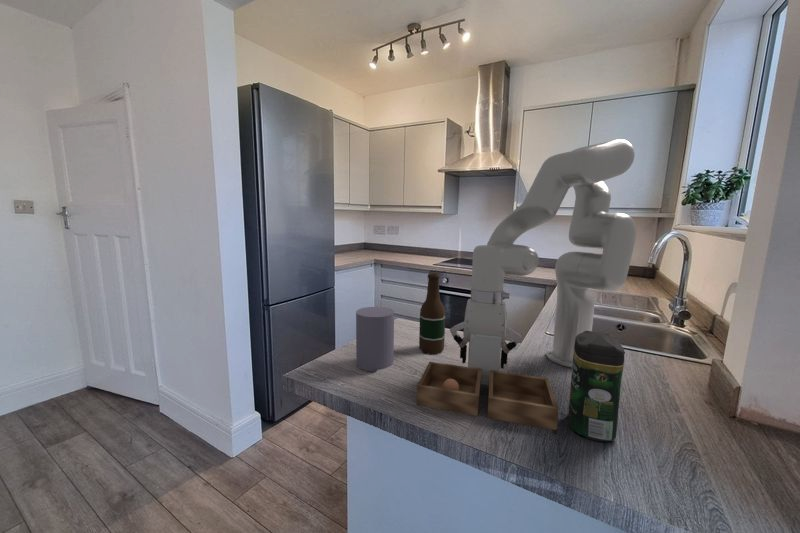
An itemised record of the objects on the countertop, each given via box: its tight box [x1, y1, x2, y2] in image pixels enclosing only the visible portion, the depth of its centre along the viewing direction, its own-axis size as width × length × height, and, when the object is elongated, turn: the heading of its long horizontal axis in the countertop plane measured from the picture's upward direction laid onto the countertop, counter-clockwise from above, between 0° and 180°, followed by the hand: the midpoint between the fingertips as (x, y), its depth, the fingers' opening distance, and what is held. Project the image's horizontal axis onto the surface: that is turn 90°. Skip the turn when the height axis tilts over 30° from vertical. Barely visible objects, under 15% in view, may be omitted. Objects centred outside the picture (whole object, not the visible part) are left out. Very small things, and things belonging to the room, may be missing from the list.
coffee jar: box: [568, 330, 626, 442], centre depth 61 cm, size 10×8×19 cm
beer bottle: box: [418, 272, 446, 355], centre depth 98 cm, size 8×8×24 cm
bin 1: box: [416, 361, 482, 417], centre depth 72 cm, size 13×13×5 cm
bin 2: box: [487, 370, 559, 435], centre depth 68 cm, size 13×13×5 cm
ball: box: [443, 379, 459, 391], centre depth 72 cm, size 4×4×4 cm
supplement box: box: [467, 334, 502, 386], centre depth 80 cm, size 7×7×13 cm
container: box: [355, 306, 395, 373], centre depth 88 cm, size 10×10×15 cm
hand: (482, 363), depth 80 cm, fingers open, 8 cm apart
